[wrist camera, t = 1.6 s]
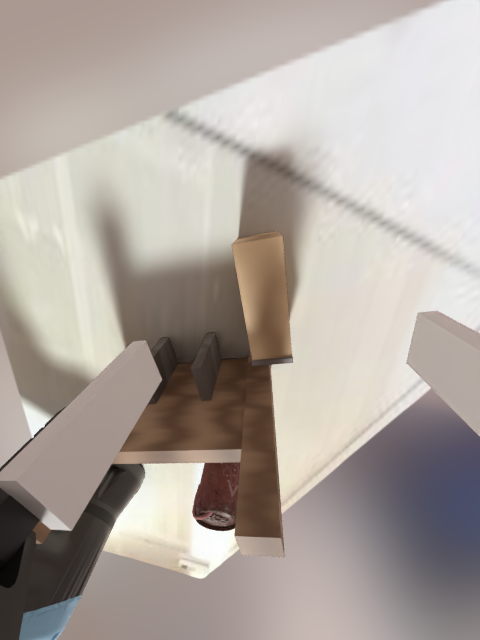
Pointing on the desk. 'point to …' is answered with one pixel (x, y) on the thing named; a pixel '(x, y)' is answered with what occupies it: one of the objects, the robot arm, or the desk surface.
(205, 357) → the wooden u-shaped stand
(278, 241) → the tan rectangular block
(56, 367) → the desk surface
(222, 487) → the can
